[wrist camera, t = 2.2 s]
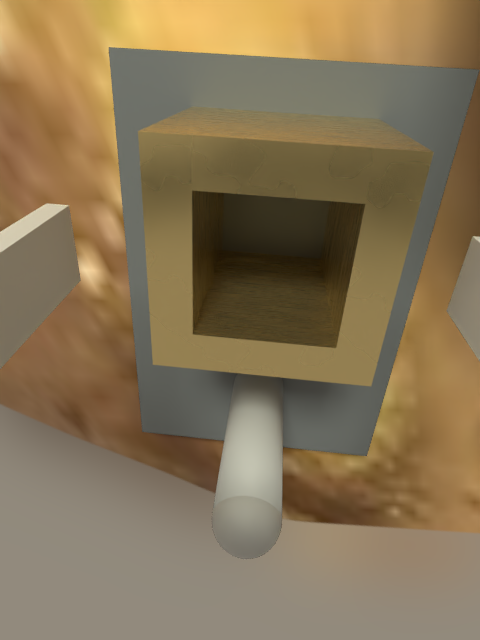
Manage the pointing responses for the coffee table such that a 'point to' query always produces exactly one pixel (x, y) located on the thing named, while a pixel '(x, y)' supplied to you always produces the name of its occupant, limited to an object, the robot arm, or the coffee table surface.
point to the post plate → (277, 239)
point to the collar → (266, 269)
